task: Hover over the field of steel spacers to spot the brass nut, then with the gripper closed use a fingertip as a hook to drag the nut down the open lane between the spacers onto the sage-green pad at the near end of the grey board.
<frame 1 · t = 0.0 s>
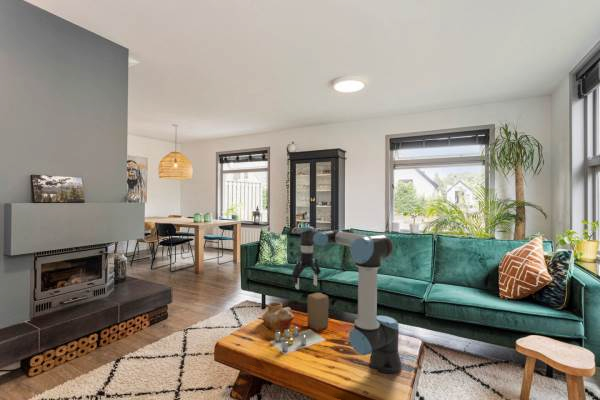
hand: (306, 286, 177), 28 cm above the table, fingers open, 13 cm apart
wooden block: (317, 326, 186), on the table
spacers: (290, 338, 163), on the board, point 4 cm above the table
nut: (289, 343, 162), point 1 cm above the table, touching board
ceramic vessel: (278, 328, 184), on the table
board: (298, 342, 165), on the table
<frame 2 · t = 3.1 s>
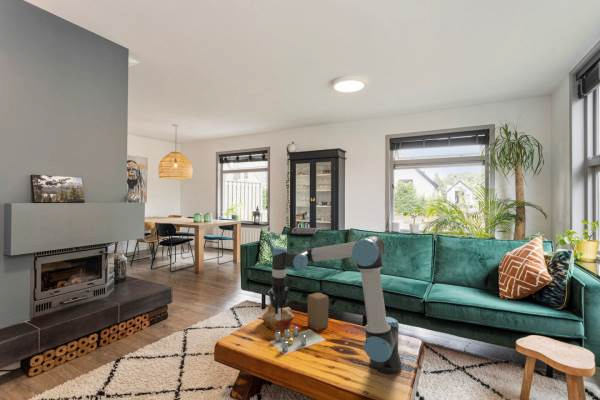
hand: (278, 319, 158), 16 cm above the table, fingers closed
nothing on the table moved.
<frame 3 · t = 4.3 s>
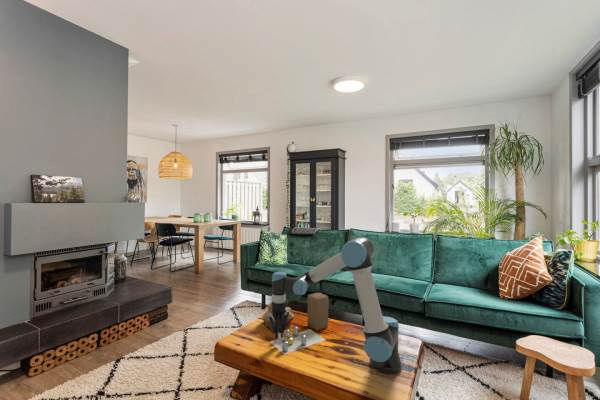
hand: (278, 344, 158), 3 cm above the table, fingers closed
nothing on the table moved.
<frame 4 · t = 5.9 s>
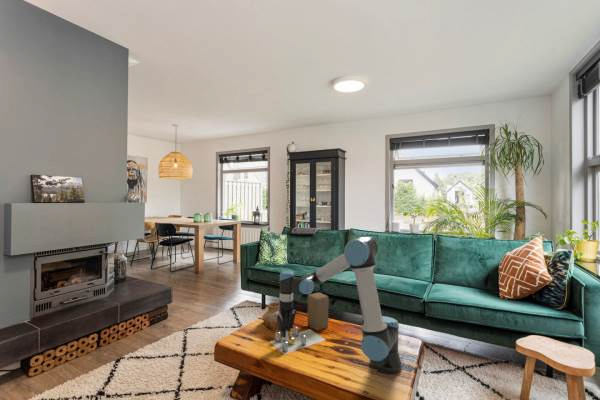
hand: (285, 342, 161), 2 cm above the table, fingers closed
nut: (290, 343, 163), point 1 cm above the table, touching gripper
everything else where it was.
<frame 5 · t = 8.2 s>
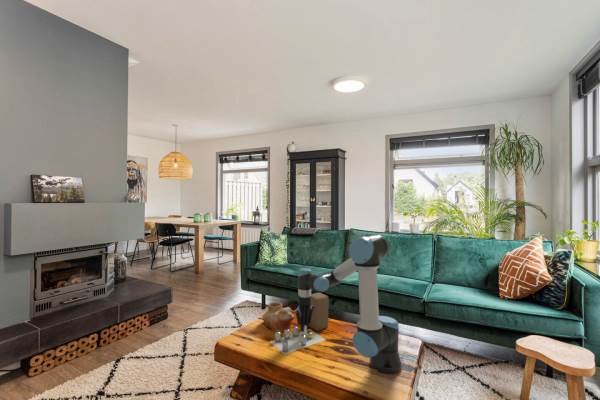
hand: (304, 336, 168), 2 cm above the table, fingers closed
nut: (308, 337, 169), point 1 cm above the table, touching board, gripper
everything else where it was.
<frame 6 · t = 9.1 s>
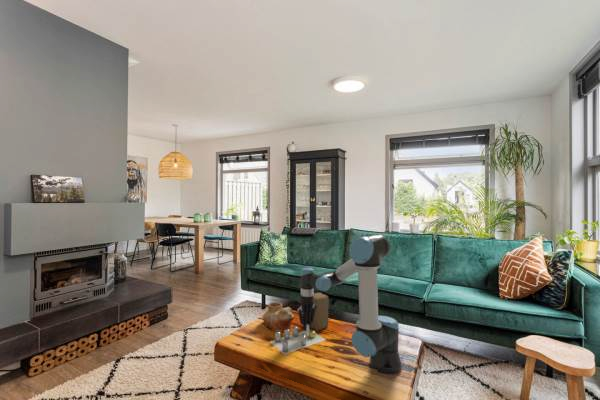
hand: (306, 335, 169), 2 cm above the table, fingers closed
nut: (311, 336, 171), point 1 cm above the table, touching board, gripper
everything else where it was.
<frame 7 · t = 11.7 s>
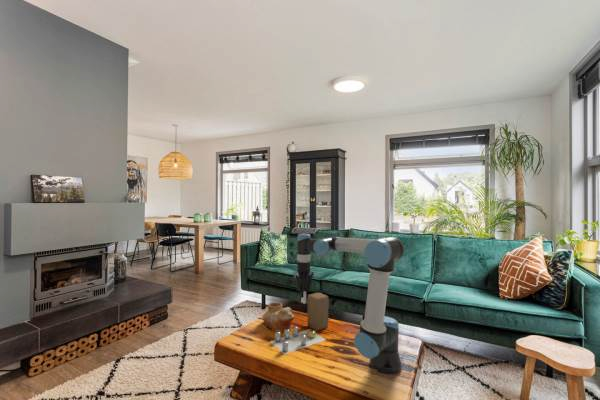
hand: (303, 302, 165), 23 cm above the table, fingers closed
nut: (311, 336, 171), point 1 cm above the table, touching board
everything else where it was.
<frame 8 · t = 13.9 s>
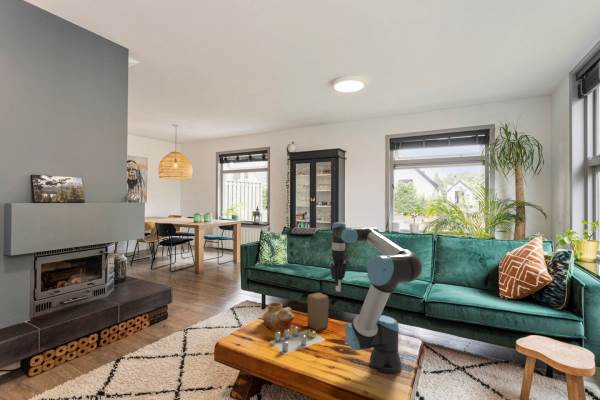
hand: (338, 290, 166), 29 cm above the table, fingers closed
nothing on the table moved.
at the end: nut inside the target area on the board (0.4 cm from its centre), point 1.0 cm above the board's base; nut tilted 1°; nut touching board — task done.
